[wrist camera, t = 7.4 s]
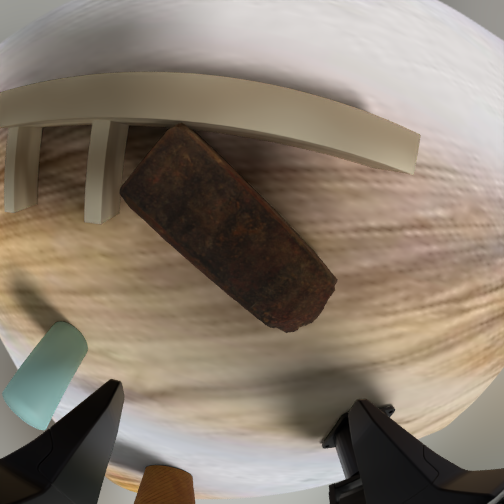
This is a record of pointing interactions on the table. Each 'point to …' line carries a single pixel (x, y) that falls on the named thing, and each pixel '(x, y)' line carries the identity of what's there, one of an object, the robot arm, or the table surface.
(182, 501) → the disposable coffee cup
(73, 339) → the dowel
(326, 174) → the table surface
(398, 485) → the robot arm
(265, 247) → the brick
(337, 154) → the backstop fence
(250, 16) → the table surface
